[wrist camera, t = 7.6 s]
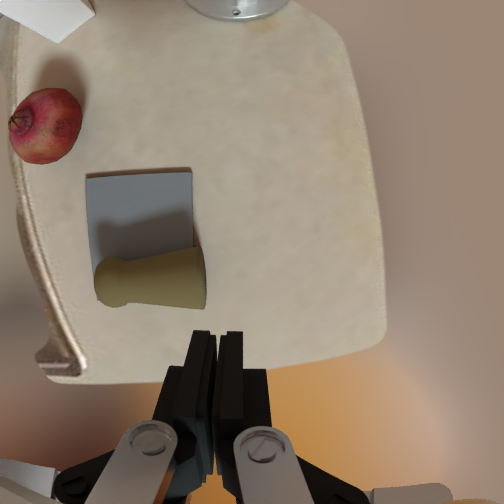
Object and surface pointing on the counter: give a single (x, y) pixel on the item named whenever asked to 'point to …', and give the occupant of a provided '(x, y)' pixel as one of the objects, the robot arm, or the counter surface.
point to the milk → (49, 15)
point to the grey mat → (139, 215)
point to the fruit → (45, 125)
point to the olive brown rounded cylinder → (154, 280)
